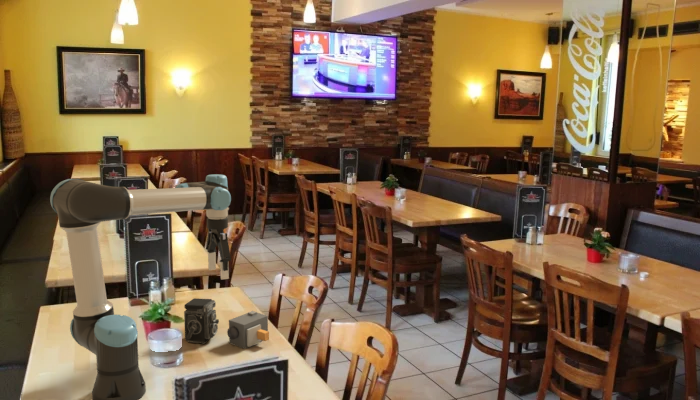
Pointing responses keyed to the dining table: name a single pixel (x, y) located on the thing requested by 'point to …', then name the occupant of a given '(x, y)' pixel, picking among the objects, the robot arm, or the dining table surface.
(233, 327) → the housing
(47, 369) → the dining table surface
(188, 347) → the dining table surface
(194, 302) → the camera
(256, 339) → the side door
